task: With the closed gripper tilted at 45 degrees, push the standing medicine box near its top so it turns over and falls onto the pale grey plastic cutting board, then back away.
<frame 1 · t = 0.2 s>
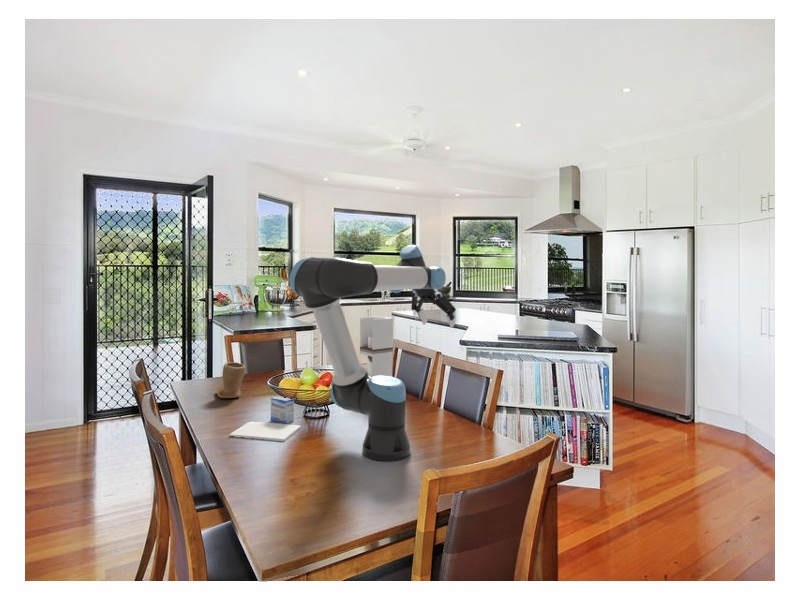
hand: (439, 324, 193), 36 cm above the table, tool tilted 35°, fingers open, 13 cm apart
cutting board: (266, 431, 166), on the table
tan boot: (231, 396, 212), on the table
display case: (375, 391, 224), on the table
medicine box: (282, 421, 178), on the table
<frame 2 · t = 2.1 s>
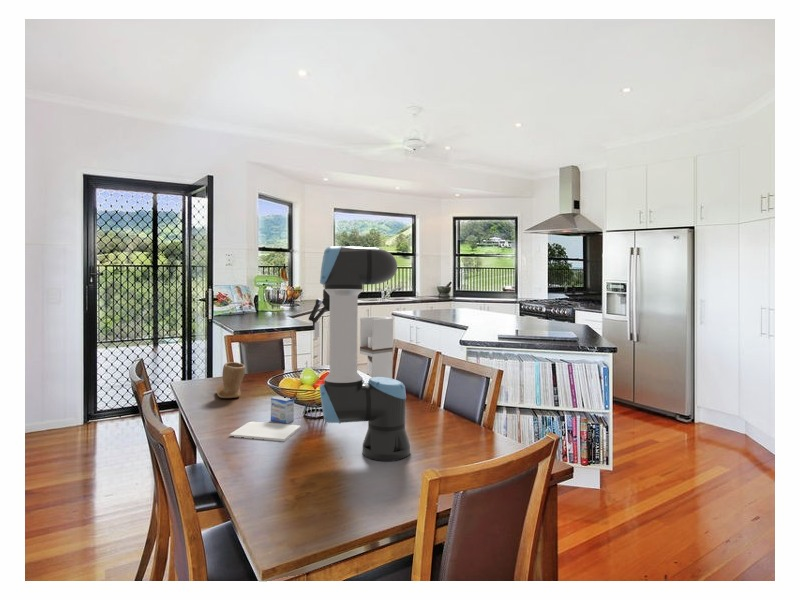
hand: (331, 338, 197), 28 cm above the table, tool pointing down, fingers open, 13 cm apart
nothing on the table moved.
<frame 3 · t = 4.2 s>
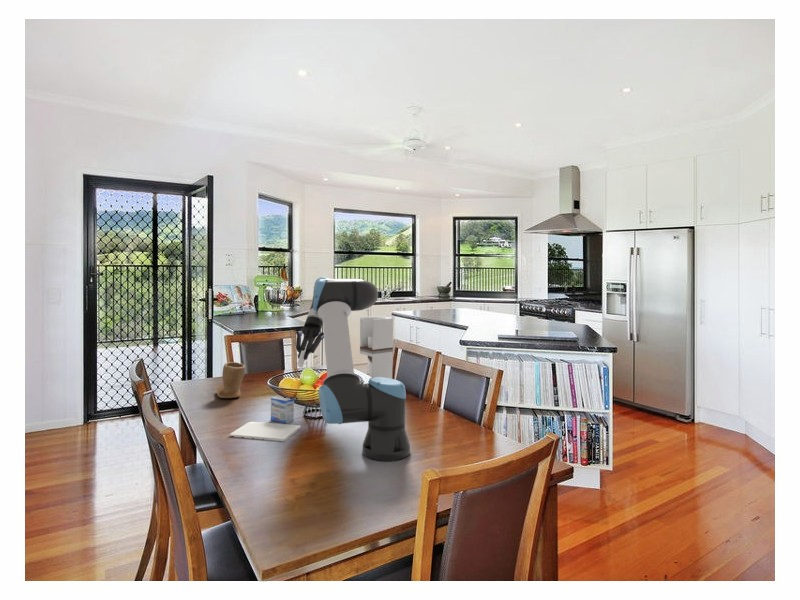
hand: (299, 365, 194), 18 cm above the table, tool tilted 45°, fingers closed
nothing on the table moved.
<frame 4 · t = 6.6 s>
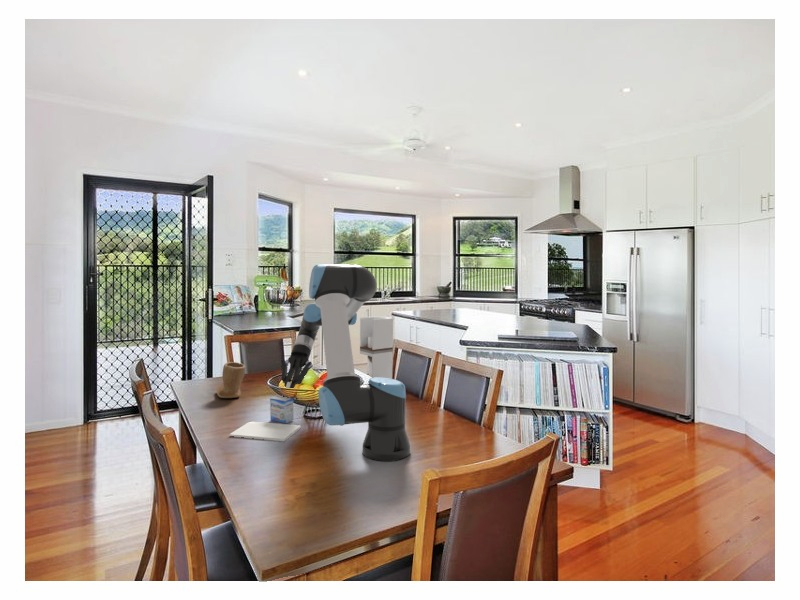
hand: (285, 398, 181), 8 cm above the table, tool tilted 45°, fingers closed
medicine box: (282, 420, 178), on the table, touching gripper
everything else where it was.
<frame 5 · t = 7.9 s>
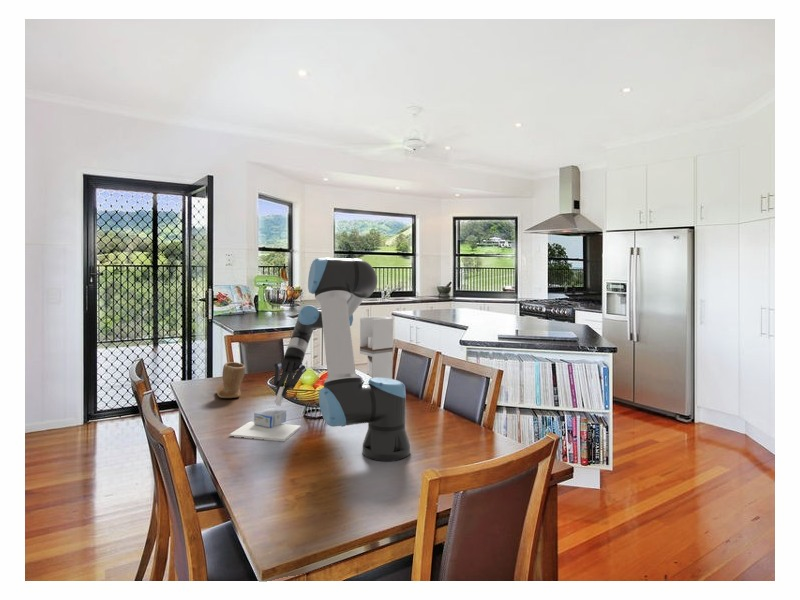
hand: (277, 403, 174), 7 cm above the table, tool tilted 45°, fingers closed
medicine box: (278, 414, 176), point 3 cm above the table, touching cutting board
everything else where it was.
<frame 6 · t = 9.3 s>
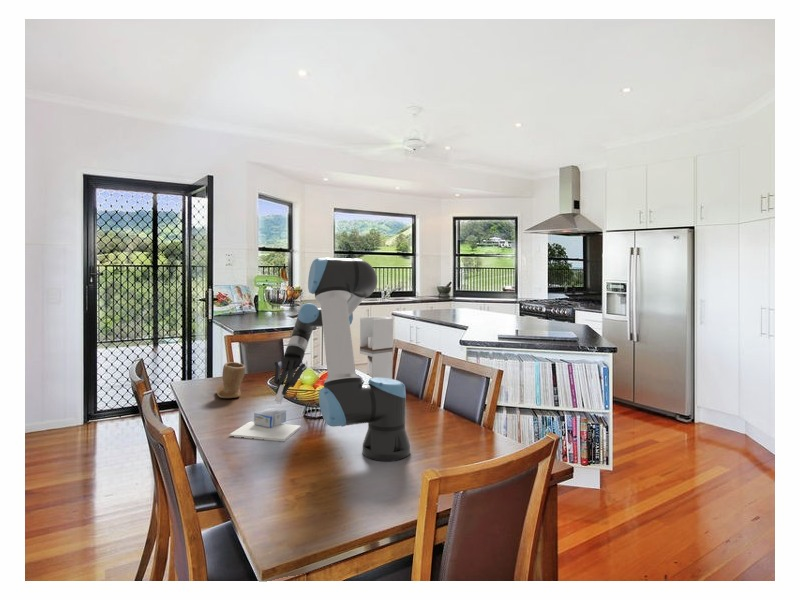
hand: (277, 401, 174), 8 cm above the table, tool tilted 45°, fingers closed
nothing on the table moved.
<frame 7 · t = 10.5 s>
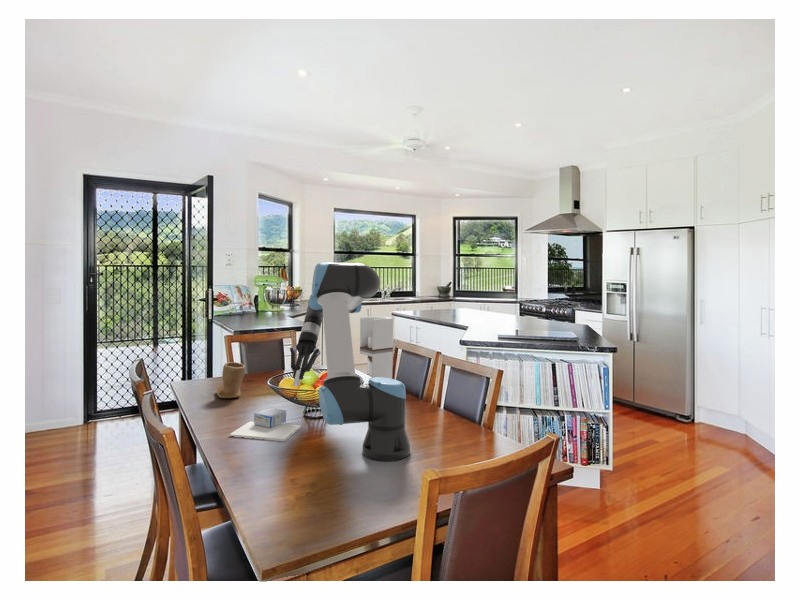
hand: (295, 386, 186), 11 cm above the table, tool tilted 40°, fingers closed
nothing on the table moved.
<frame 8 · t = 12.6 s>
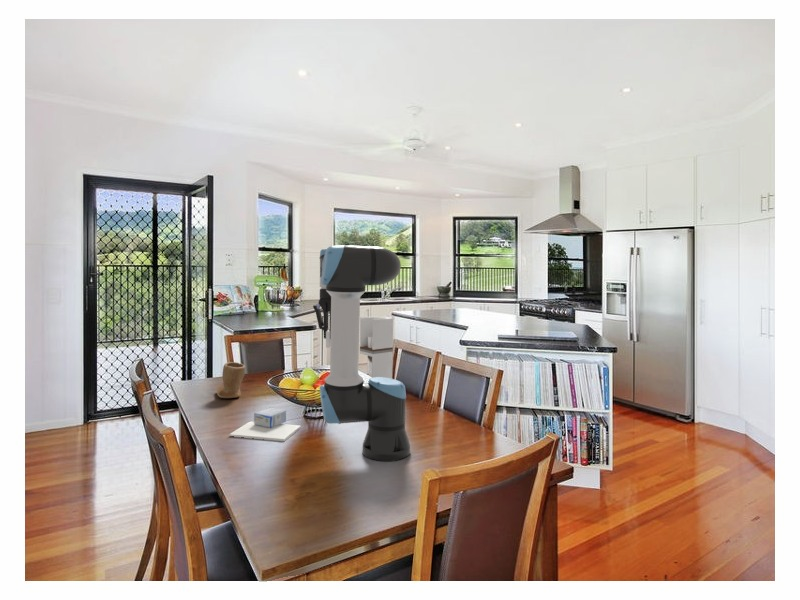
hand: (328, 346, 189), 26 cm above the table, tool pointing down, fingers closed
nothing on the table moved.
at the end: medicine box tilted 90°; medicine box touching cutting board; the gripper is holding nothing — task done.
